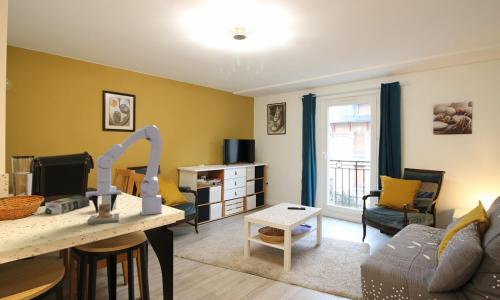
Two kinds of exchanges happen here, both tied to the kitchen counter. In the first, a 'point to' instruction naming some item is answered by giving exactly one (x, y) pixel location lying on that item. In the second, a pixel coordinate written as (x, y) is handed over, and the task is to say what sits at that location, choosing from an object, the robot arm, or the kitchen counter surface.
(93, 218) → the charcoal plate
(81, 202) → the juice carton
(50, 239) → the kitchen counter surface
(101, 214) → the tan wooden block
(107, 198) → the skincare box
